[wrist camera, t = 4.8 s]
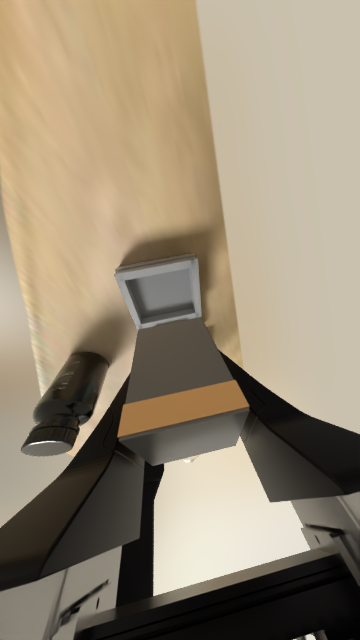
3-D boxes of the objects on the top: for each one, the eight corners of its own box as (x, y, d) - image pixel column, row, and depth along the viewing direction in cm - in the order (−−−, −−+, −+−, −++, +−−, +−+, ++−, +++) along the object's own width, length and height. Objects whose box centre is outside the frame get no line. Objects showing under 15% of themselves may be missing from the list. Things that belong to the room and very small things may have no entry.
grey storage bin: (198, 327, 24) (205, 342, 21) (146, 338, 24) (145, 355, 20) (192, 252, 17) (200, 257, 14) (118, 266, 17) (109, 274, 14)
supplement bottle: (69, 374, 26) (15, 463, 16) (66, 348, 22) (-6, 440, 12) (108, 376, 28) (82, 456, 18) (110, 353, 24) (79, 435, 14)
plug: (203, 357, 12) (236, 445, 7) (153, 368, 12) (152, 466, 7) (201, 316, 9) (251, 409, 5) (137, 328, 9) (116, 441, 4)
